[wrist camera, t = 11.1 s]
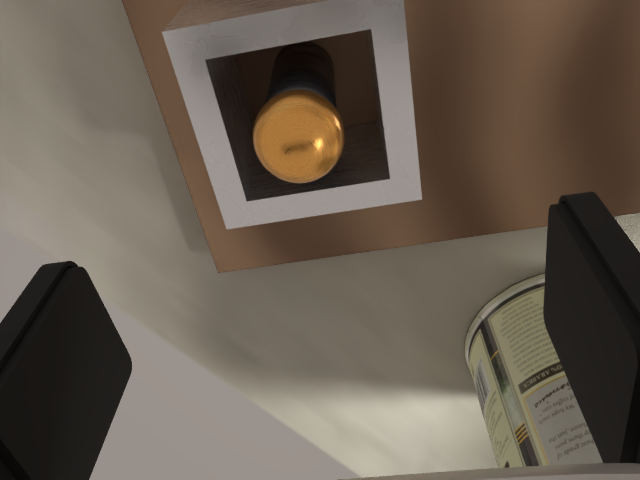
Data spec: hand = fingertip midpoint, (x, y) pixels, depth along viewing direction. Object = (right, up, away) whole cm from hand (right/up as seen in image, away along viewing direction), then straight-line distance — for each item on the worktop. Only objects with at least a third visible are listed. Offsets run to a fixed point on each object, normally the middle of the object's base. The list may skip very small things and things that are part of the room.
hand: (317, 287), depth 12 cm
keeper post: (-1, +8, +11) cm, 13 cm away
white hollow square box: (0, +8, +11) cm, 13 cm away
